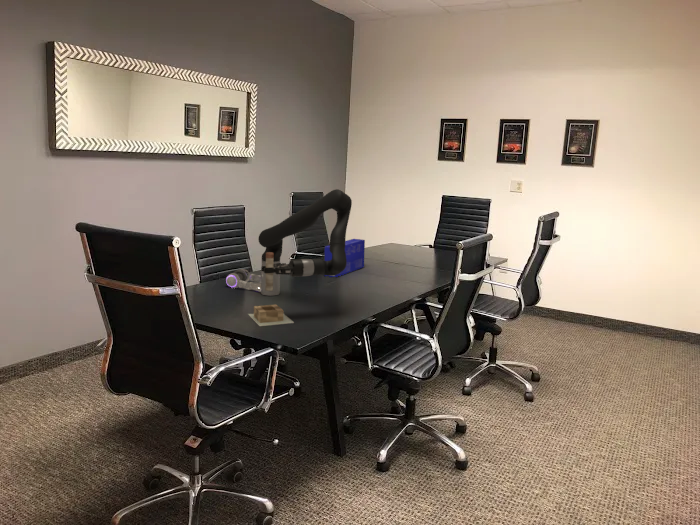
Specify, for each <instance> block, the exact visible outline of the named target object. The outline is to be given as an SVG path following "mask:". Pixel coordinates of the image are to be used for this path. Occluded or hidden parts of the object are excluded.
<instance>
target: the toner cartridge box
mask: <svg viewBox="0 0 700 525" xmlns="http://www.w3.org/2000/svg"><path fill="white" fill-rule="evenodd" d="M365 242H366V240H365V239H360V238H351V239H347V240H345V253H346V260H347V263H346V267H345V269H344V270H343V271H342V272H340V273H339V274H337V275H332V276H329V275H323V276H324V277H326V276H329V277H328V278H332V277H337V278H339V277H338V276H340V277H342V276H344V274H345V275H347V273H348V274H350V273H353V272H355V271H357V270H360V269H363V268H365V248H366V246H365V244H366V243H365ZM323 252H324V256H323V257H324V258H323V259H324V261H330V260H332V253H331V252H330V244H329V245H325V246H324V251H323ZM349 272H350V273H349ZM341 275H342V276H341Z"/></svg>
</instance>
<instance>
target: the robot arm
mask: <svg viewBox="0 0 700 525" xmlns="http://www.w3.org/2000/svg"><path fill="white" fill-rule="evenodd" d="M352 201H353V200H352V198H351V197H350V196H349V195H348V194H346V192H344V191H343V190H341V189H337V188H335V189H333V190H331V191H329V192H328V193H326V194H325V195H323V196H322V197H320V198H319V199H318V200H315V201H314V202H313V203H311V204H309V205H308V206H306V207H305V208H302V209H300V210H299V211H297V212H295V213H294V214H292V215H290V216H288V217H287V218H285V219H283V221H280V222H279V223H278V224H276V225H273V226H271V227H269V228H265V229H264V230H262V231H260V233H259V235H258V243H259V245H261V246H262V247H264V248H265V250H264V252H263V253H262V254H261V267H260V271H261V274H260V275H261V292H260V294H261V295H263V296H269V297H270V296H271V297H272V296H278V295H280V292H281V291H280V289H281V288H280V286H281V285H280V284H281V283H280V280H281V278H280V277H281V275H286V276H287V275H288V276H290V277H292V278H295V277H298V278H299V277H309V276H321V275H322V276H324V275H329V276H332V275H337V274H339V273H340V272H342V271H343V270H344V269H345V267H346V263H347V260H346V253H345V241H346V236H347V229H348V224H349V223H348V222H349V219H350V215H351V211H352V204H353V203H352ZM331 209H332V210H333V211H336V223H335V225H334V227H333V229H332V231H331V233H330V235H329V237H330V238H329V245H330V252H331V253H332V260H330V261H324V260H323V259H322V258H310V259H309V258H299V259H298V258H297V259H290V260H289V263H286V262H285V263H283V262H281V257H282V254H283V242H284V241H283V239H285V238H287V237H291V236H293V235H296V234H299V233H301V232H303V231H306V230H308V229H309V228H311V227H313V226H314V225H315V224H316V222H317V221H318V220H319V218H320V216H321V215H322V214H323V213H325V212H326V211H329V210H331ZM267 252H272V253H274V262H273V268H266V253H267ZM266 273H273V291H266V290H265V286H266Z"/></svg>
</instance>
